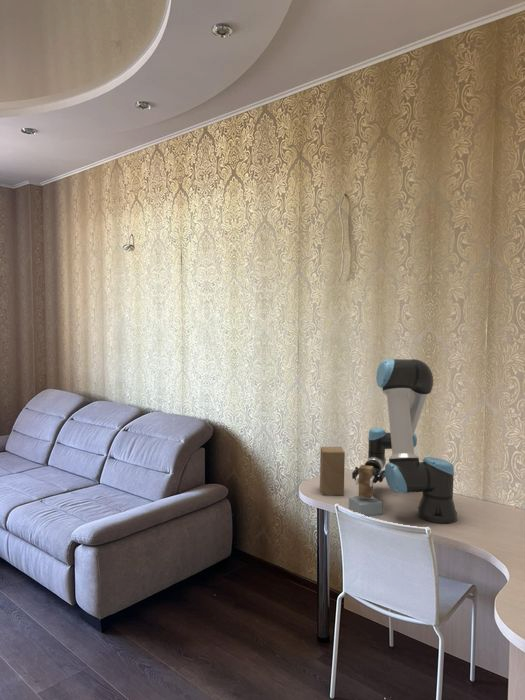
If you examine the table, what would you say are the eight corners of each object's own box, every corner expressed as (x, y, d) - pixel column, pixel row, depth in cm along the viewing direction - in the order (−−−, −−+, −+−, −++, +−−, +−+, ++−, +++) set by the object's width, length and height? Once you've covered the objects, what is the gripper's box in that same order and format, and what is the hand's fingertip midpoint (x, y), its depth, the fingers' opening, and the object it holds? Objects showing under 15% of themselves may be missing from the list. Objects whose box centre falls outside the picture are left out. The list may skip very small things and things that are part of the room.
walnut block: (372, 494, 211) (373, 466, 210) (370, 498, 206) (371, 469, 206) (360, 493, 213) (361, 464, 212) (358, 496, 208) (359, 467, 208)
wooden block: (344, 495, 228) (344, 452, 228) (321, 495, 229) (322, 451, 228) (341, 488, 238) (341, 446, 238) (319, 488, 239) (320, 446, 238)
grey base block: (382, 514, 207) (382, 502, 206) (360, 517, 204) (360, 505, 203) (369, 506, 216) (370, 494, 216) (348, 508, 213) (349, 496, 213)
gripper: (393, 478, 223) (386, 494, 201) (352, 473, 229) (341, 488, 208) (393, 461, 222) (386, 476, 201) (352, 457, 229) (341, 470, 207)
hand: (363, 482), depth 204 cm, fingers closed on walnut block, 5 cm apart
